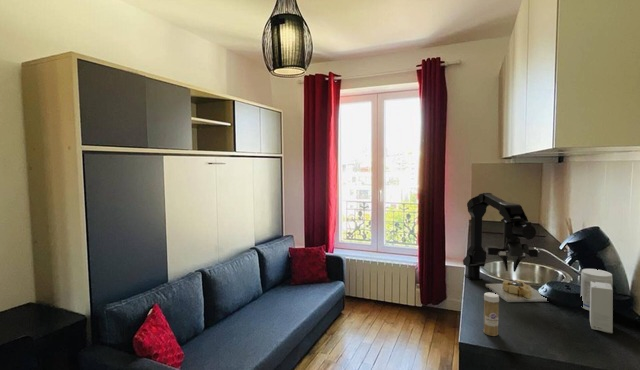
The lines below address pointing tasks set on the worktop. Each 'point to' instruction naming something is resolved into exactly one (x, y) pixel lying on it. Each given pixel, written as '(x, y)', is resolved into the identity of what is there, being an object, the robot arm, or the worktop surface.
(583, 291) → the supplement tub
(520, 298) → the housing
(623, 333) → the worktop surface
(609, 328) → the skincare box
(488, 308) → the sprinkles bottle
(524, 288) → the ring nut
